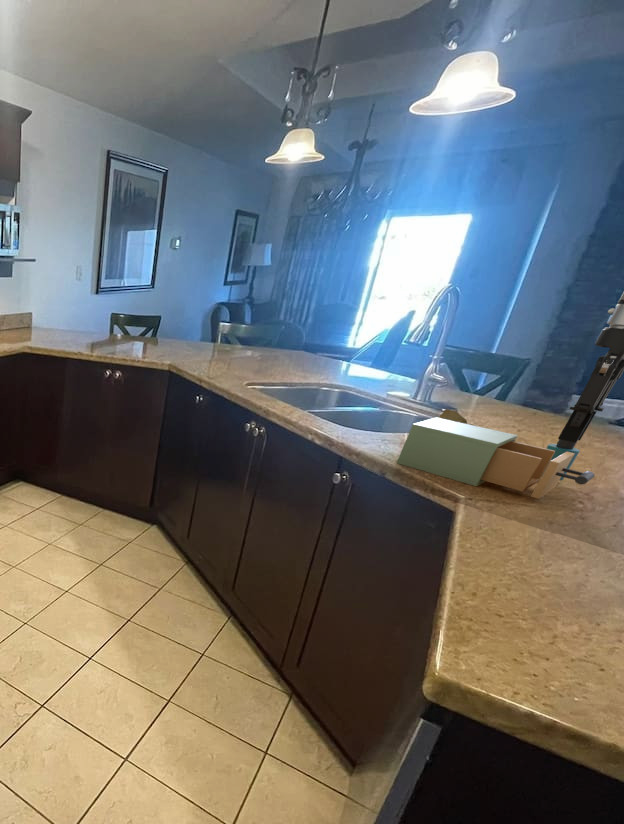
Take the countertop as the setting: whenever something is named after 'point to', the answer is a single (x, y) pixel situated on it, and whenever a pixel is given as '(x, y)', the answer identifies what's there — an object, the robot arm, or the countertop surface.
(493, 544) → the countertop surface
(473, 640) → the countertop surface
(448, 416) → the rock
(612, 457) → the countertop surface
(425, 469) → the cabinet
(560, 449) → the dark grey teal stick
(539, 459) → the drawer
